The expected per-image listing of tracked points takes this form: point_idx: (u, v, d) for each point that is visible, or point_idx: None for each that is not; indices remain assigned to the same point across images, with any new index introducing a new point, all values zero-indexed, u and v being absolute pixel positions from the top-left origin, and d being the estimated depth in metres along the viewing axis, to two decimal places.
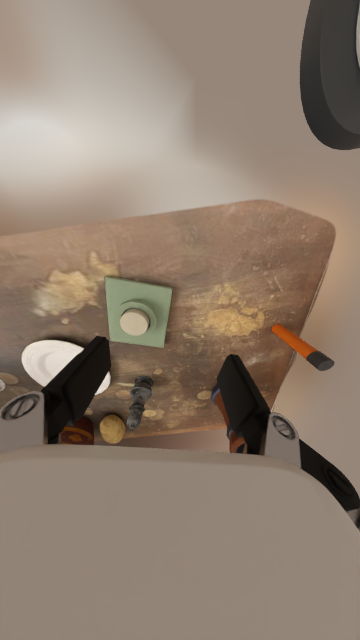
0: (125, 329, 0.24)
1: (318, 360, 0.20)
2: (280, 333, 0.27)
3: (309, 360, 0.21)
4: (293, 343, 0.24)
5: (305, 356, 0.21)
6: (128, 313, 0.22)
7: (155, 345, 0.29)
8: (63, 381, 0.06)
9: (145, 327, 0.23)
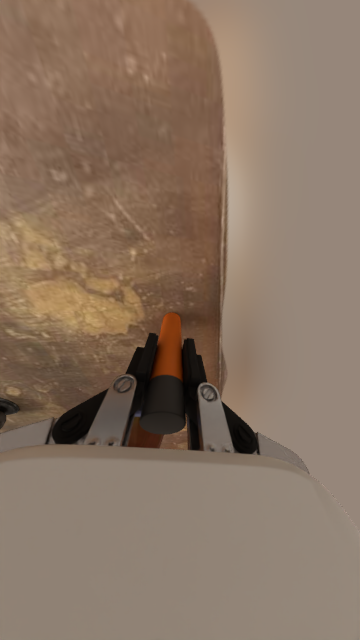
0: None
1: (143, 406, 0.06)
2: None
3: None
4: (156, 351, 0.11)
5: None
6: None
7: None
8: (145, 367, 0.07)
9: None
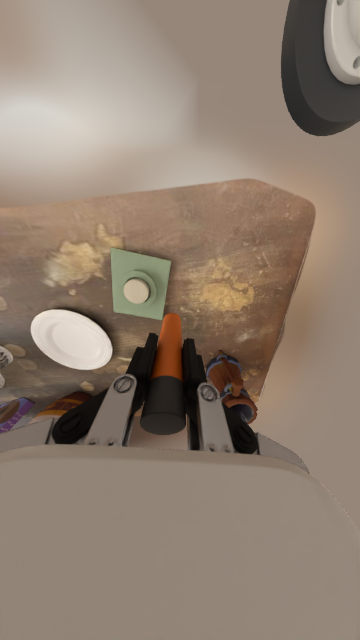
0: (128, 297, 0.26)
1: (144, 407, 0.06)
2: (161, 329, 0.13)
3: None
4: (156, 352, 0.11)
5: None
6: (131, 280, 0.25)
7: (154, 317, 0.32)
8: (145, 367, 0.07)
9: (146, 295, 0.26)
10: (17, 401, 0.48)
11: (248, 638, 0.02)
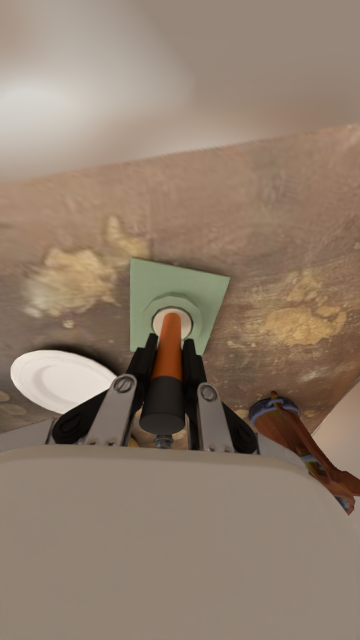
0: (159, 333, 0.17)
1: (143, 407, 0.06)
2: (161, 329, 0.13)
3: None
4: (156, 352, 0.11)
5: None
6: (167, 310, 0.15)
7: None
8: (145, 367, 0.07)
9: (188, 330, 0.17)
10: None
11: (248, 638, 0.02)
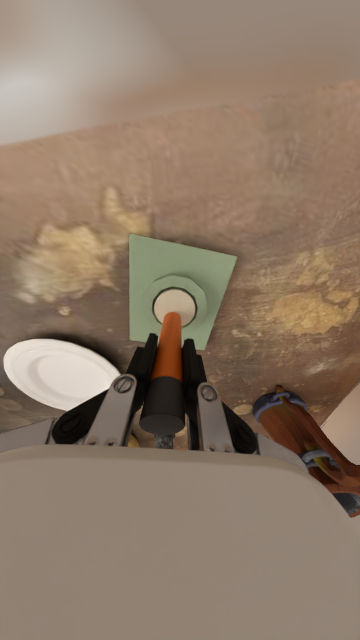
0: (161, 317, 0.16)
1: (143, 408, 0.06)
2: (161, 328, 0.13)
3: None
4: (156, 351, 0.11)
5: None
6: (169, 291, 0.14)
7: None
8: (145, 367, 0.07)
9: (191, 314, 0.16)
10: None
11: (248, 638, 0.02)
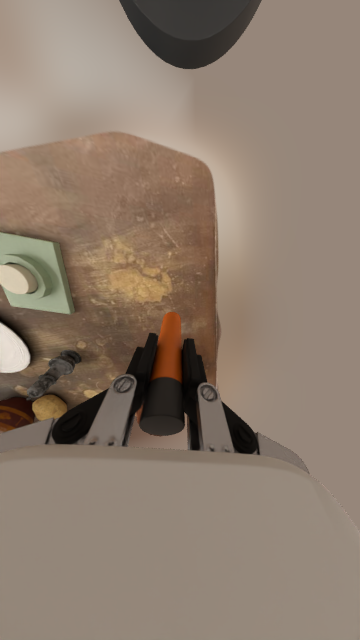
0: (5, 286, 0.22)
1: (143, 409, 0.06)
2: None
3: None
4: None
5: None
6: (0, 266, 0.21)
7: (61, 311, 0.28)
8: (145, 367, 0.07)
9: (26, 283, 0.22)
10: None
11: (248, 638, 0.02)
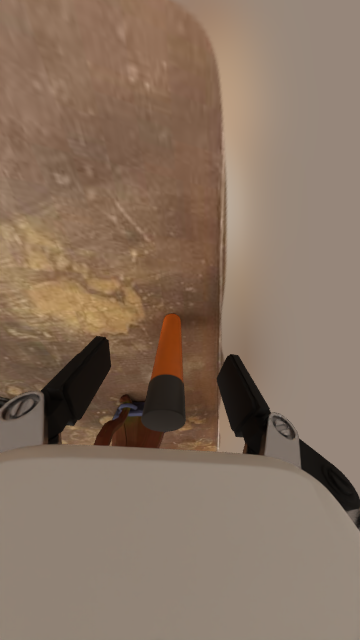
0: None
1: (145, 405, 0.07)
2: None
3: None
4: None
5: None
6: None
7: None
8: (63, 381, 0.06)
9: None
10: None
11: (248, 638, 0.02)
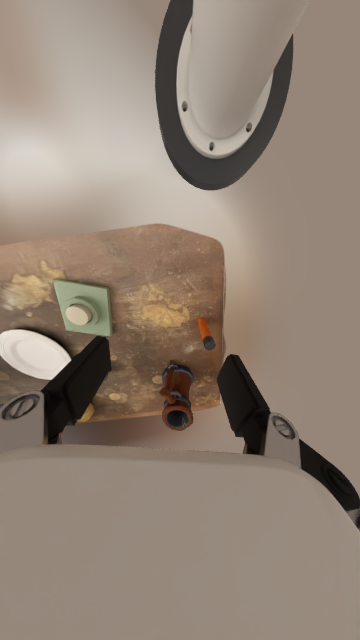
0: (71, 320, 0.31)
1: (205, 342, 0.27)
2: (199, 324, 0.34)
3: (203, 342, 0.28)
4: (201, 331, 0.31)
5: (203, 340, 0.28)
6: (70, 307, 0.29)
7: (103, 334, 0.36)
8: (63, 381, 0.06)
9: (86, 318, 0.30)
10: None
11: (248, 638, 0.02)
